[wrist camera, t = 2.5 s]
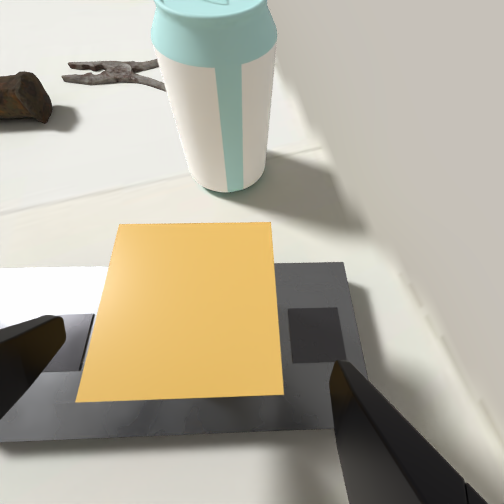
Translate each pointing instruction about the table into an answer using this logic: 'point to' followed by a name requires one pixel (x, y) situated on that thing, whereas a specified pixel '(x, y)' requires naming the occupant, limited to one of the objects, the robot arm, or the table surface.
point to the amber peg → (186, 315)
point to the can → (218, 85)
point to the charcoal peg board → (187, 409)
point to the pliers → (114, 73)
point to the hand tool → (24, 97)
